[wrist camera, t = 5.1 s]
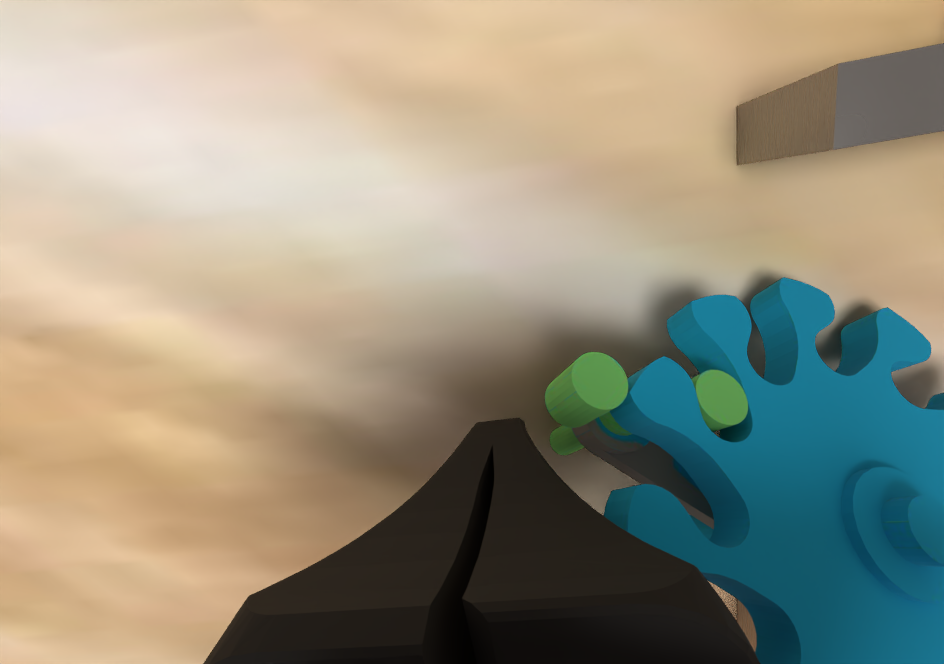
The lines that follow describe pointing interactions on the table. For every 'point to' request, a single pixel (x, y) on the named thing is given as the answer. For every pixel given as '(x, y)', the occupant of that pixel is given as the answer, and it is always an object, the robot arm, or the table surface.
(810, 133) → the bracket
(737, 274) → the table surface
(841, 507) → the gear
